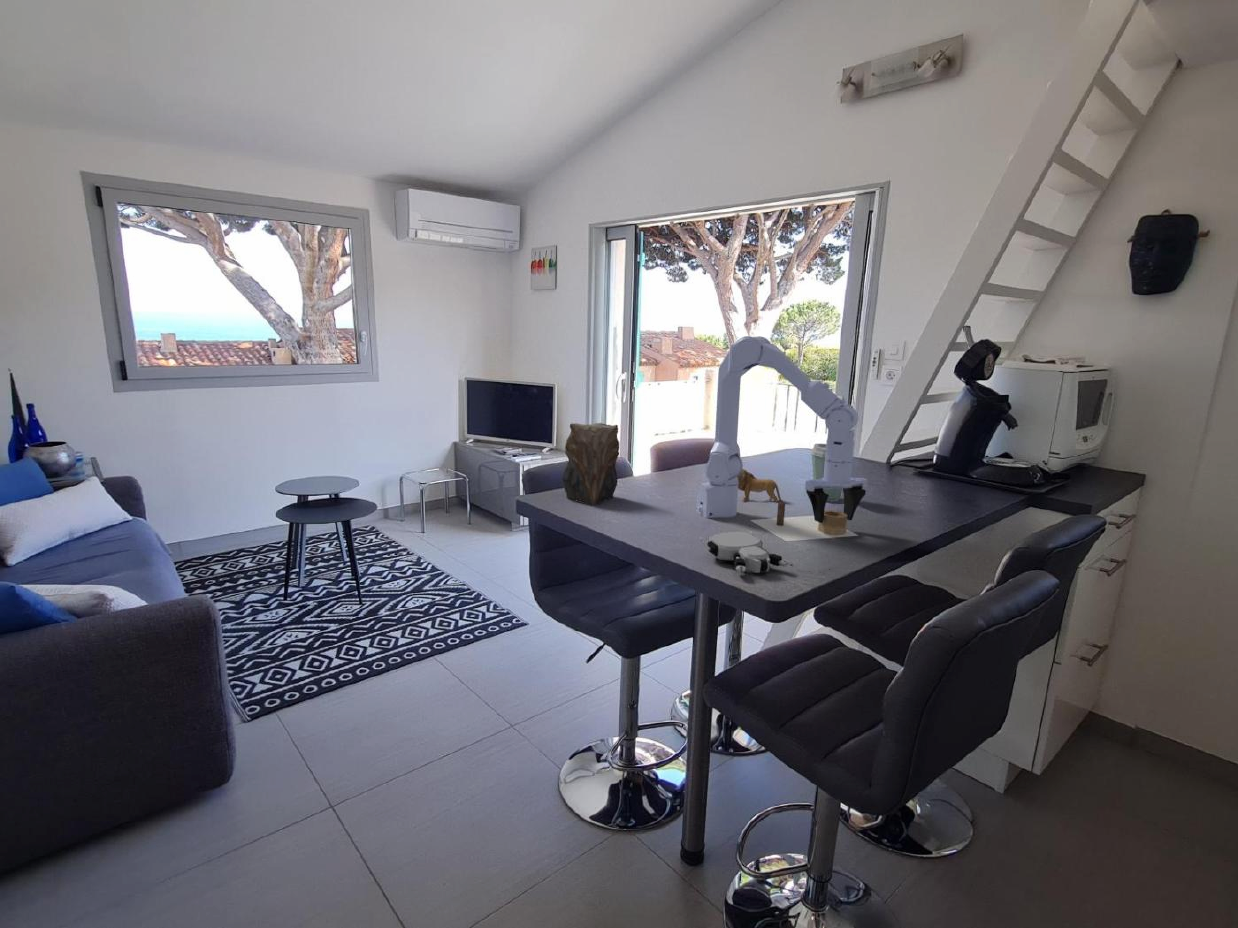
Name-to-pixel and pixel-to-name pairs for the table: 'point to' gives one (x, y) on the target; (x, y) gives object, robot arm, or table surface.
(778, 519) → the rod
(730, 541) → the robot toy
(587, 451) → the owl
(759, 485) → the lion figurine
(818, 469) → the disposable coffee cup
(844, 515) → the oak bead
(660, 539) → the table surface
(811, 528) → the white flat rectangular panel
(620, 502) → the table surface
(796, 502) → the table surface
